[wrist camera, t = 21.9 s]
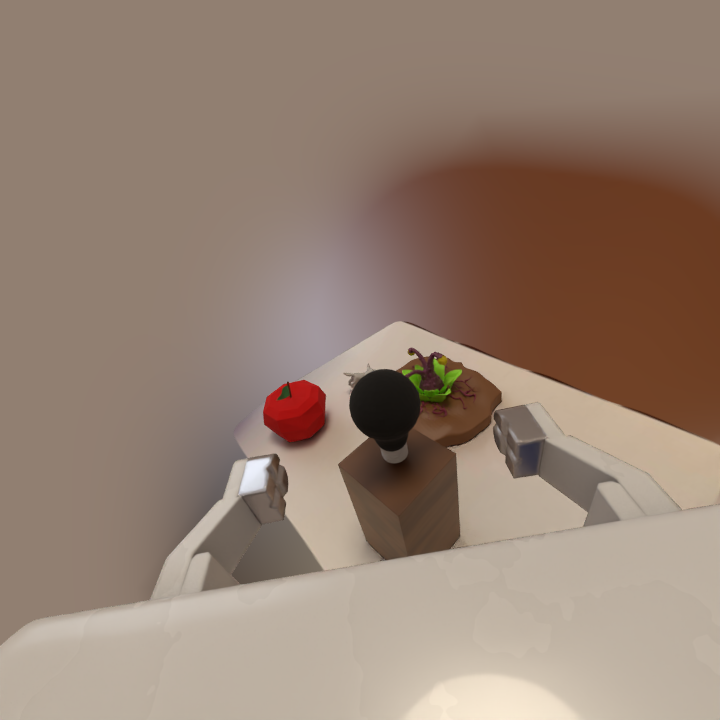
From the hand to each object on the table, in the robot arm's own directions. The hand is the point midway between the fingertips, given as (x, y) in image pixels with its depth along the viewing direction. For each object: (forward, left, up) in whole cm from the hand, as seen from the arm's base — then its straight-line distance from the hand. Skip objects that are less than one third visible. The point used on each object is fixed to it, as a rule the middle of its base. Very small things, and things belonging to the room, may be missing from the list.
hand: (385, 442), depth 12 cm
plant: (+21, -28, -32) cm, 47 cm away
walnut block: (+9, -8, -31) cm, 34 cm away
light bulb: (+9, -8, -17) cm, 21 cm away
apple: (+36, -10, -32) cm, 49 cm away
